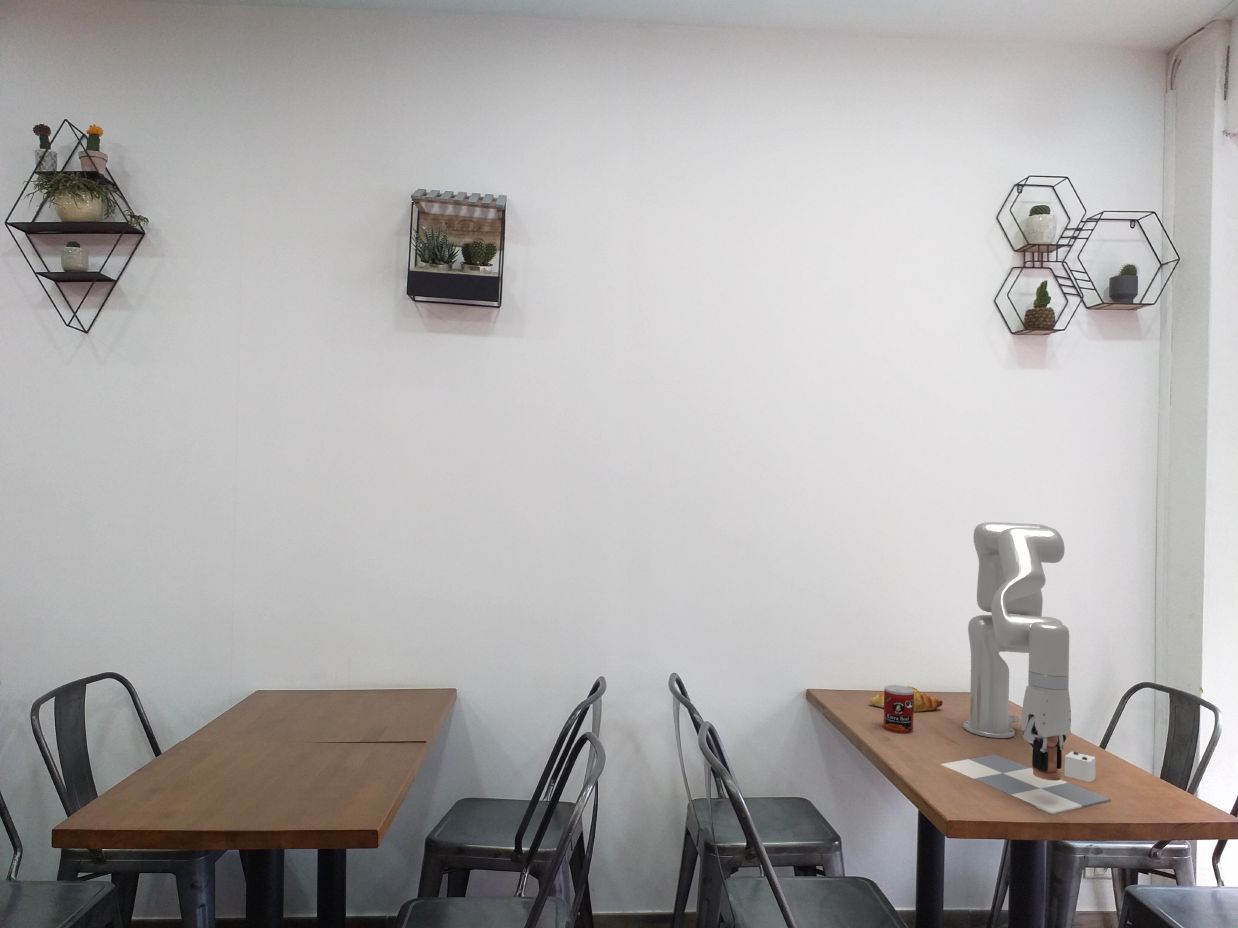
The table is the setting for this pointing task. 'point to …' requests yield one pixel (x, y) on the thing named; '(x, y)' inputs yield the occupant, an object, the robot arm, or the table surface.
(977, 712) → the robot arm
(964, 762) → the board
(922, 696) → the croissant
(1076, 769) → the die
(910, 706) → the canned food
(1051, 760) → the pawn
